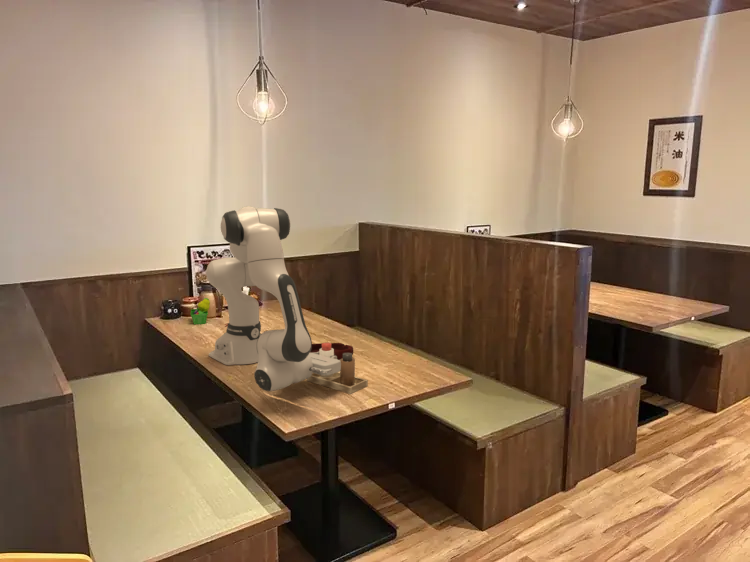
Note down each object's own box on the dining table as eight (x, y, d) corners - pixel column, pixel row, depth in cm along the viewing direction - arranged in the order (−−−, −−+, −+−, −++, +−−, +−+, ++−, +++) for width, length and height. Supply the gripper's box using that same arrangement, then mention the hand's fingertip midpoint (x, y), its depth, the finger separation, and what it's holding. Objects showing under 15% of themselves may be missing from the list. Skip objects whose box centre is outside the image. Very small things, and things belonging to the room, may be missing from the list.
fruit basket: (191, 319, 275) (189, 296, 273) (210, 318, 278) (209, 295, 276) (191, 325, 265) (189, 301, 263) (211, 324, 267) (210, 300, 265)
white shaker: (316, 375, 194) (316, 344, 192) (326, 371, 198) (325, 340, 196) (327, 378, 191) (327, 346, 189) (336, 374, 195) (336, 343, 193)
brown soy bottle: (337, 386, 189) (337, 354, 187) (346, 382, 193) (346, 350, 191) (348, 390, 186) (348, 357, 184) (357, 385, 190) (357, 353, 188)
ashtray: (326, 350, 231) (326, 338, 230) (357, 359, 221) (357, 346, 220) (293, 361, 217) (293, 348, 216) (324, 371, 207) (324, 358, 206)
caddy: (306, 383, 195) (306, 374, 194) (324, 376, 202) (324, 367, 201) (350, 396, 183) (350, 387, 183) (367, 388, 190) (367, 379, 190)
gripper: (323, 363, 176) (352, 352, 187) (277, 351, 188) (306, 341, 199) (324, 383, 178) (352, 371, 188) (277, 369, 190) (306, 359, 200)
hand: (328, 355), depth 194 cm, fingers closed on white shaker, 5 cm apart
